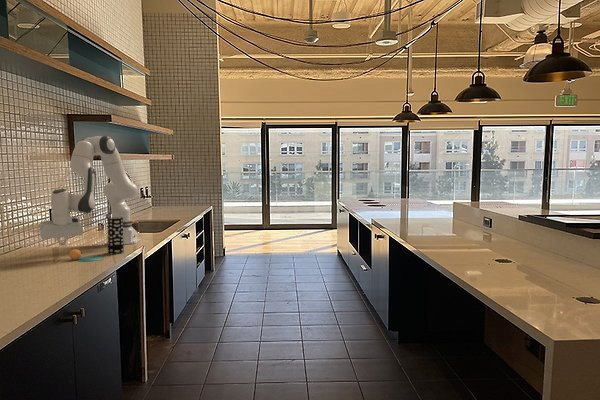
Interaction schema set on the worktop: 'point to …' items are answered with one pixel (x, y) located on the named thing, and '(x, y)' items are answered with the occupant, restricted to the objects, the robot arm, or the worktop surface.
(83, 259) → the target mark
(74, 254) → the ball
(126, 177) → the robot arm
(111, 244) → the spotted tube
